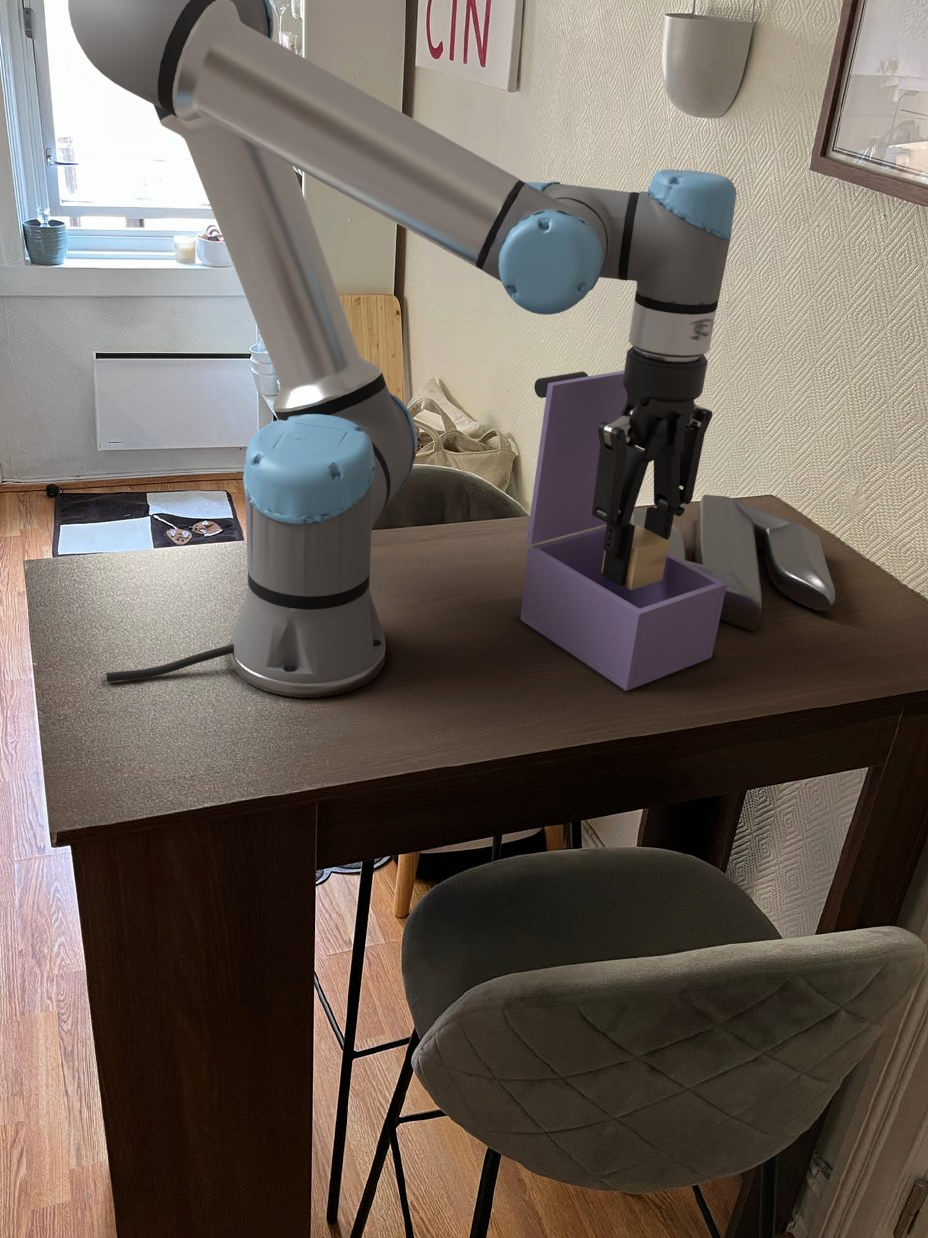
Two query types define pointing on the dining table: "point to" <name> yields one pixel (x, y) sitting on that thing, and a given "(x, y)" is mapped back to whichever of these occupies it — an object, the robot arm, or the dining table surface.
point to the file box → (620, 611)
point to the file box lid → (571, 450)
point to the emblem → (753, 557)
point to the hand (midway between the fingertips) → (632, 573)
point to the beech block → (645, 559)
